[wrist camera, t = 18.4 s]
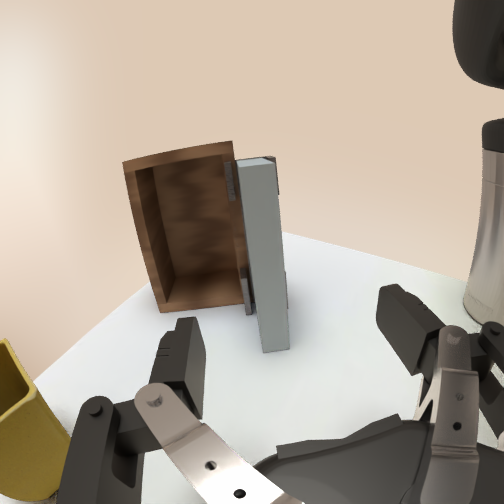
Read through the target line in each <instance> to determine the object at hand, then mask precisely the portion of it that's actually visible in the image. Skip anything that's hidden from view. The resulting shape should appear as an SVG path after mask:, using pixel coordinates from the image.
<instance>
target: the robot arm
mask: <svg viewBox="0 0 504 504" xmlns="http://www.w3.org/2000/svg"><path fill="white" fill-rule="evenodd" d="M453 43H454V49H455V53H456V57H457V60H458V62H459V64H460V66H461V68H462V69H463V71H464V72H465V73H466V74H467V76H469V77H470V78H471V79H473V80H474V81H476V82H478V83H481V84H484V85H487V86H490V87H495V88H500V89H504V0H455V3H454V11H453ZM482 148H484V149H483V150H482V152H483V170H482V175H483V176H482V177H483V178H482V195H481V207H480V217H479V226H478V232H477V239H476V245H475V251H474V256H473V261H472V266H471V271H470V275H469V280H468V283H467V287H466V291H465V295H464V298H463V299H464V306H465V308H466V310H467V311H468V313H469V314H470V315H471V316H472V317H473V318H474V319H476V320H477V321H478V322H480V323H481V324H483V326H482V329H481V331H480V333H473V334H467V332H466V331H465V330H464V329H462V328H460V327H458V326H454V325H448V326H446V325H445V324H444V323H443V322H442V321H441V320H440V319H439V318H438V317H437V316H436V315H435V314H434V313H433V312H432V311H431V310H430V309H428V307H427V306H426V305H425V304H423V302H422V301H421V300H420V299H419V298H418V297H417V296H415V295H413V294H411V293H409V292H405V291H404V290H403V289H402V288H401V287H400V286H399V285H398V284H392V285H387V286H383V287H381V288H380V290H379V297H378V305H377V312H376V322H377V326H378V328H379V329H380V331H381V332H382V334H383V335H384V336H385V338H386V339H387V341H388V342H389V343H390V345H391V346H392V348H393V349H394V351H395V352H396V354H397V355H398V356H399V358H400V359H401V361H402V362H403V364H404V365H405V367H406V368H407V370H408V371H409V373H410V374H411V376H413V375H416V374H418V373H422V374H423V377H422V379H421V384H420V390H419V395H418V400H417V405H416V410H415V414H414V417H413V420H401V419H400V417H399V415H398V413H397V414H394V415H392V416H389V417H387V418H384V419H381V420H378V421H375V422H372V423H370V424H369V425H367V426H365V427H364V428H362V429H360V430H358V431H357V432H355V433H353V434H351V435H350V436H348V437H346V438H343V439H330V440H306V441H301V442H296V443H290V444H285V445H278V446H276V448H277V454H274V455H272V456H269V457H267V458H265V459H263V460H262V461H260V462H258V463H257V464H256V465H254V466H253V467H252V466H251V465H250V464H248V463H247V462H246V461H245V460H244V459H243V458H242V457H240V456H239V455H238V454H237V453H236V452H235V451H234V450H233V449H232V448H231V447H230V446H228V445H227V444H226V443H225V442H224V441H223V440H222V439H221V438H220V437H219V436H218V435H217V434H216V433H215V432H214V431H213V430H212V429H211V428H210V427H209V426H208V425H207V424H205V423H203V424H202V423H201V422H200V421H199V420H200V419H202V415H203V396H204V380H205V365H206V351H205V345H204V342H203V338H202V335H201V331H200V328H199V324H198V321H197V318H196V317H187V318H178V319H177V323H176V327H175V331H167V332H166V334H165V335H164V336H163V337H162V338H161V340H160V343H159V347H158V350H157V354H156V358H155V361H154V365H153V368H152V372H151V376H150V380H149V384H148V385H146V386H144V387H142V388H141V389H140V390H139V391H138V392H137V394H136V396H135V399H132V400H129V401H125V402H121V403H116V404H113V403H112V402H111V401H110V399H108V398H107V397H104V396H95V397H92V398H90V399H88V400H87V401H86V402H85V403H84V404H83V405H82V407H81V409H80V412H79V415H78V418H77V421H76V424H75V428H74V431H73V434H72V438H71V441H70V445H69V448H68V452H67V456H66V460H65V464H64V468H63V472H62V476H61V481H60V486H59V491H58V496H57V501H56V504H141V493H142V477H143V465H144V454H145V452H150V451H154V450H158V449H163V450H164V451H165V452H166V454H167V455H168V456H169V458H170V459H171V460H172V462H173V463H174V464H175V466H176V467H177V468H178V469H179V471H180V472H181V473H182V474H183V475H184V477H185V478H186V479H187V480H188V481H189V483H190V484H191V485H192V486H193V487H194V488H195V489H196V491H197V492H198V493H199V494H200V495H201V496H202V497H203V498H204V499H205V500H206V501H207V502H208V503H209V504H504V388H503V387H502V386H501V384H500V383H499V381H498V380H497V379H496V377H495V376H494V375H493V373H492V372H491V369H492V367H493V365H494V363H496V365H497V366H498V367H499V368H500V370H501V371H502V372H503V373H504V118H502V119H497V120H492V121H489V122H486V123H485V124H484V125H483V127H482ZM479 408H480V410H481V411H482V413H483V415H484V416H485V418H486V420H487V421H488V423H489V425H490V427H491V428H492V430H493V432H494V434H495V435H496V437H497V439H498V447H497V449H495V448H492V447H489V446H486V445H483V444H480V443H478V442H477V434H478V419H479Z"/></svg>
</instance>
